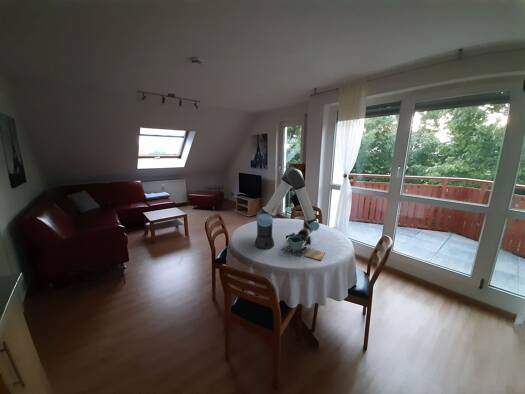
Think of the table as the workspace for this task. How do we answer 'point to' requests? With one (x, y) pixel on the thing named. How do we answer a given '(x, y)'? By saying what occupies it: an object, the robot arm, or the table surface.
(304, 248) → the metal collar
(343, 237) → the table surface
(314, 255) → the walnut board
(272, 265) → the table surface
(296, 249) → the flower pot
